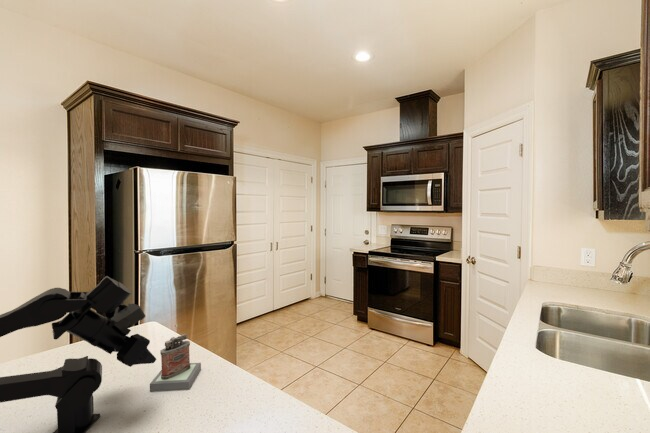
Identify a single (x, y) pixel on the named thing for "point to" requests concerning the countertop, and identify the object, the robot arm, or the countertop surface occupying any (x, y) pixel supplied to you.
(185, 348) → the lighter
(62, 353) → the countertop surface
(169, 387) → the baseplate
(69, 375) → the robot arm
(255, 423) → the countertop surface
